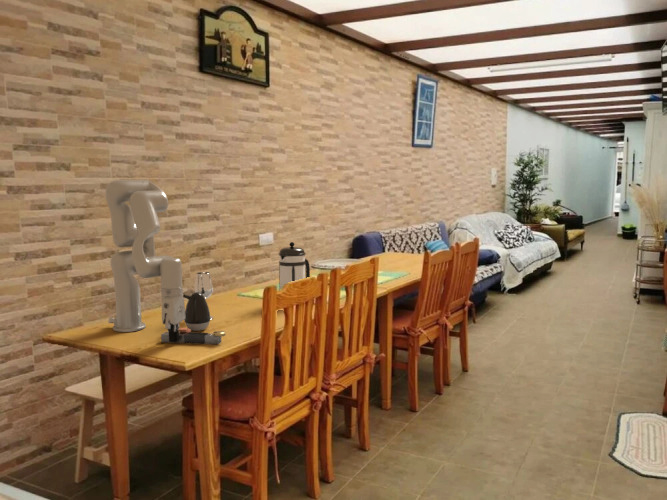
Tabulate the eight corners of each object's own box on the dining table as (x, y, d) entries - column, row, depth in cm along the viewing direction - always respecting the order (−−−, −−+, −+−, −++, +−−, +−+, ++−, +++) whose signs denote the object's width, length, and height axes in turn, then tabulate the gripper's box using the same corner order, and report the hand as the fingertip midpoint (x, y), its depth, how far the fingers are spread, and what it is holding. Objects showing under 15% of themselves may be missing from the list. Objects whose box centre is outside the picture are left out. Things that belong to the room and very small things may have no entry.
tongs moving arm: (161, 342, 212) (161, 333, 212) (163, 341, 214) (162, 332, 213) (218, 344, 209) (217, 336, 209) (219, 343, 211) (219, 334, 210)
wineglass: (209, 321, 243) (207, 274, 240) (192, 320, 244) (190, 274, 242) (216, 316, 250) (215, 271, 248) (200, 316, 252) (198, 271, 249)
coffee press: (311, 307, 268) (310, 243, 264) (276, 307, 267) (275, 244, 263) (309, 299, 285) (309, 239, 281) (277, 299, 284) (276, 239, 280)
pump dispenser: (186, 326, 235) (185, 290, 233) (212, 325, 236) (211, 289, 234) (182, 333, 225) (180, 295, 223) (209, 332, 225) (207, 294, 224)
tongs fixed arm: (161, 342, 212) (160, 331, 212) (166, 338, 217) (166, 328, 216) (223, 345, 208) (222, 334, 208) (227, 341, 212) (227, 331, 212)
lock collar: (178, 340, 214) (178, 329, 214) (183, 337, 219) (183, 326, 218) (186, 340, 214) (185, 329, 213) (191, 337, 218) (190, 326, 217)
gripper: (172, 296, 199) (174, 347, 202) (190, 288, 214) (192, 336, 216) (152, 296, 201) (154, 346, 203) (171, 287, 215) (173, 335, 217)
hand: (174, 341), depth 209 cm, fingers closed
